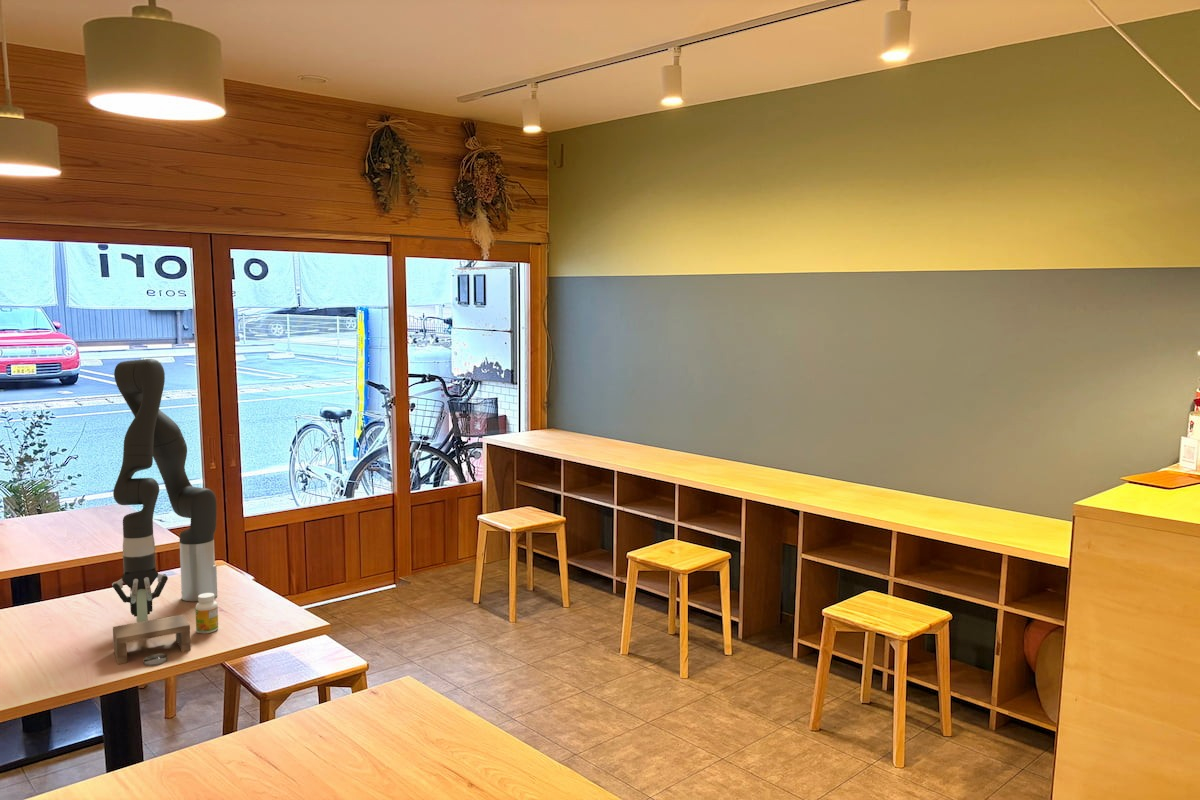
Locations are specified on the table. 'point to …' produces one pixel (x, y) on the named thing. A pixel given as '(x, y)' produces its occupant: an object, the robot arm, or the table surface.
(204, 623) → the supplement bottle
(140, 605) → the rake
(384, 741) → the table surface
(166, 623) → the wooden arch
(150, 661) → the token
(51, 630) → the table surface
